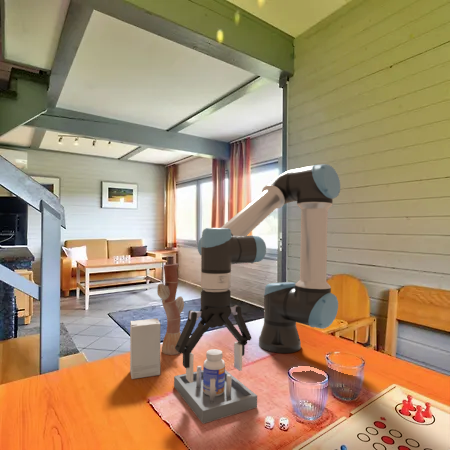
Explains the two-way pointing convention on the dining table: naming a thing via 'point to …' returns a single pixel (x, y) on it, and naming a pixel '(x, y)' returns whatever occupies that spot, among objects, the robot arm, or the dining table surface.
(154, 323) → the skincare box
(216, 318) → the robot arm
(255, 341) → the dining table surface
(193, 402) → the tray
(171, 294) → the wooden tree sculpture
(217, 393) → the pill bottle
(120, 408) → the dining table surface
